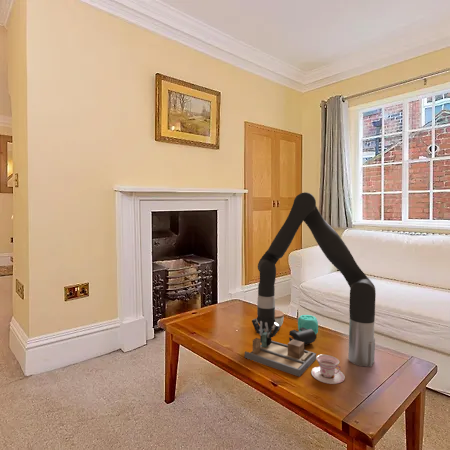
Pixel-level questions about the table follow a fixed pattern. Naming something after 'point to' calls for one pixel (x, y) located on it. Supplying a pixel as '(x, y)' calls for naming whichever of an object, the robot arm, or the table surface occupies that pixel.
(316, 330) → the decorative dice
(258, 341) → the strip
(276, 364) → the tray
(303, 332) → the end cap
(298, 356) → the walnut cube
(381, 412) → the table surface
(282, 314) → the lidded jar
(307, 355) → the strip
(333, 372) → the teacup
